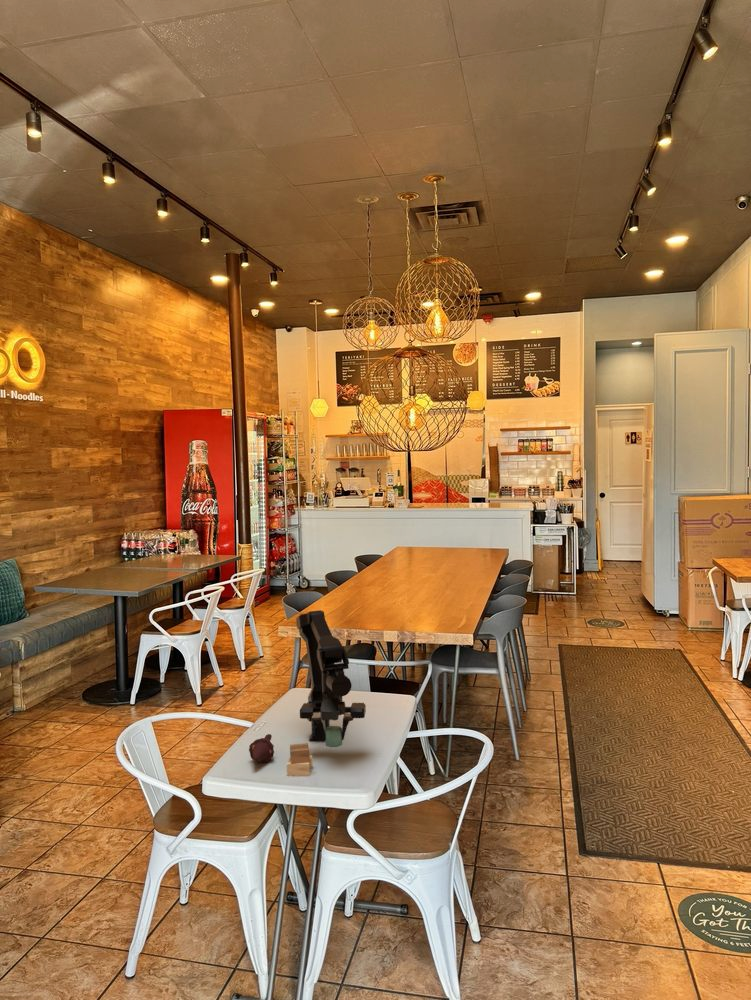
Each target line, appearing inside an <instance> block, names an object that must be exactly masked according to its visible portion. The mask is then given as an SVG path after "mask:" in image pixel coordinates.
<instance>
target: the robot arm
mask: <svg viewBox="0 0 751 1000" xmlns="http://www.w3.org/2000/svg"><path fill="white" fill-rule="evenodd" d="M295 621H296V622H295V623H296V628H297V630H298V633H299V636H300V637H301V639H302V640H303V641H304V642H305V647H306V654H307V655H306V656H307V662H308V670H309V677H310V684H311V689H310V692H309V693H308V696H307V702H305V703H303V704H302V705H301V707H300V709H299V718H300V719H305V720H307V721H308V722H311V723H310V724H311V725H310V726H311V734H310V735H309V739H308V741H313V742H314V741H315V742H317V741H319V742H320V741H322V742H324V741H325V742H326V734H325V729H326V728H327V727H330V726H331V723H330V722H331V721H337V720H339V716H342V715H343V718H342V726H341V728H342V741H344V740H345V739H344V738H345V735H346V731H347V728H348V726H349V723H350V722H352V721H354V719H364V718H365V717H366V713H367V707H366V704H365V703H364V702H352V703H351V706H346V702H345V701H343V697H344V696H347V695H349V693H351V692H350V691H351V690H352V685H353V684H352V682H351V679H350V678H349V677H348V676H347V675H346V674H345V671H344V670H348V669H349V668H350V666H349V663H350V661H349V658H348V654H347V649H346V648H345V646H344V645H343V644H342V642H341V641H340V639H339V638H336V637H335V636H333V634H332V632H331V629H330V627H329V625H328V622H327V620H326V615H325V611H324V610H321V609H320V610H311V611H308V612H307V611H306V613H300V614H299V615H298V616H297V617H296V620H295Z"/></svg>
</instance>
